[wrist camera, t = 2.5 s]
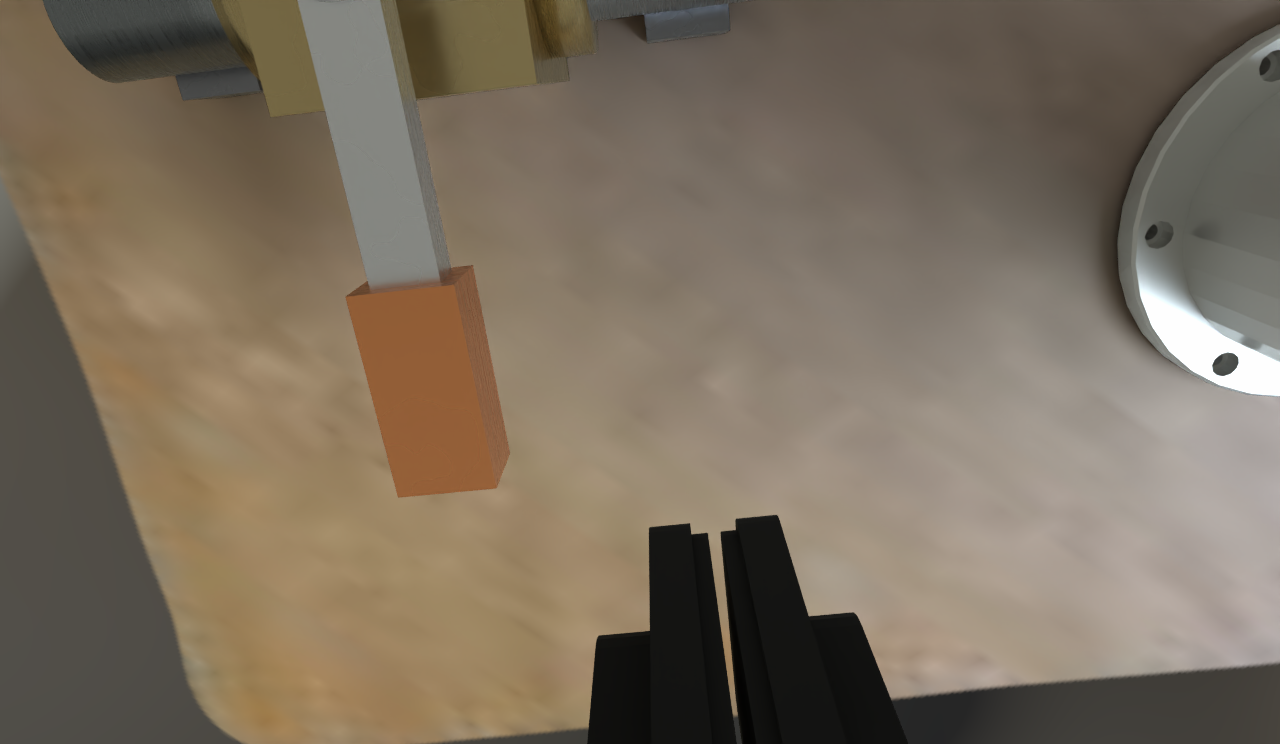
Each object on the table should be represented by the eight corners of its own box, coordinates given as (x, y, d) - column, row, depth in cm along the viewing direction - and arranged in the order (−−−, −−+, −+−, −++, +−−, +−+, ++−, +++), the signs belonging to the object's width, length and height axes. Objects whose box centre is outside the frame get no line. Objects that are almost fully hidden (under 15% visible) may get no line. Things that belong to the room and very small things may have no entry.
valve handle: (269, -127, 15) (222, -151, 14) (396, -145, 15) (364, -172, 14) (415, 462, 20) (394, 497, 18) (513, 452, 20) (500, 487, 18)
